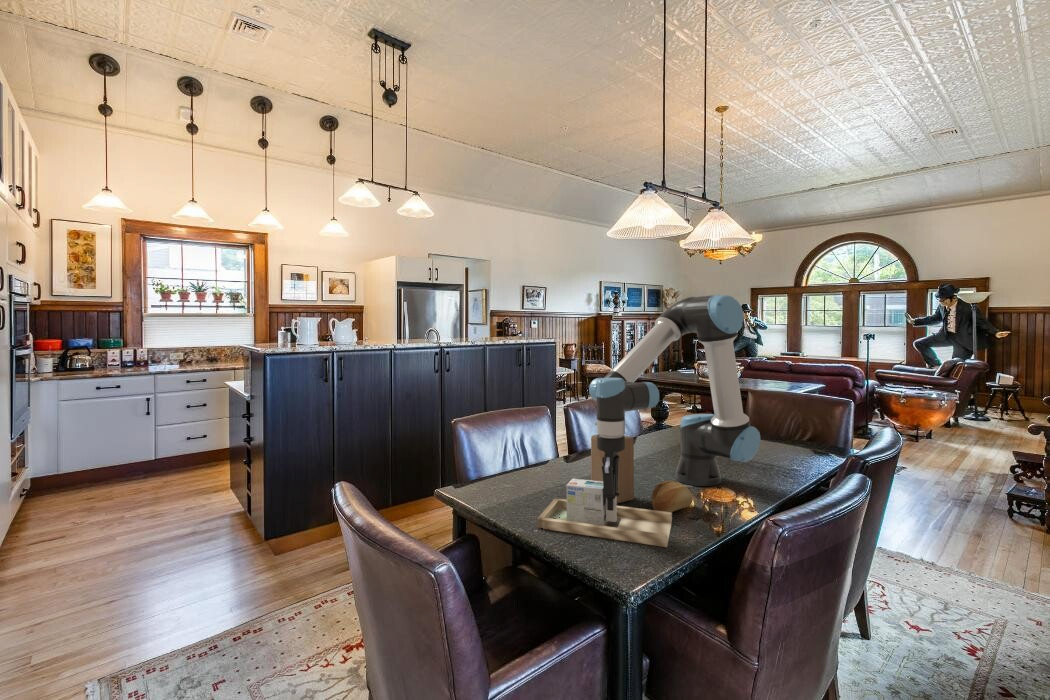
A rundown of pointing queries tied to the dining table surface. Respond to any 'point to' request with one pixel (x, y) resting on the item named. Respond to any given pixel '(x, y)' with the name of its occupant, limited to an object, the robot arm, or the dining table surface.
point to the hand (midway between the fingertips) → (611, 520)
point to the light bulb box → (586, 502)
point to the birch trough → (613, 524)
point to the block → (623, 470)
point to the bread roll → (671, 496)
